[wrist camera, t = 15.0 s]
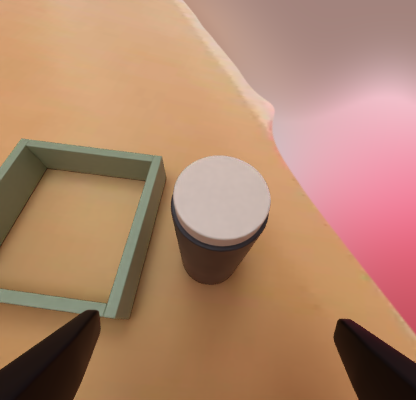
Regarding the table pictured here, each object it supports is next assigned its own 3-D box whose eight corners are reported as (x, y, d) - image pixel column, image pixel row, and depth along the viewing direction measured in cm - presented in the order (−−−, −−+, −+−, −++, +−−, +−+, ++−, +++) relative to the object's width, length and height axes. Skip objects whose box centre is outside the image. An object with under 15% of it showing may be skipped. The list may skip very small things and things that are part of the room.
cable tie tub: (239, 233, 21) (274, 158, 12) (235, 288, 19) (277, 252, 9) (187, 226, 21) (179, 146, 12) (177, 280, 19) (157, 235, 9)
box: (166, 177, 24) (162, 155, 21) (129, 319, 17) (114, 318, 14) (43, 161, 24) (21, 138, 21) (-40, 295, 18) (-90, 289, 14)
